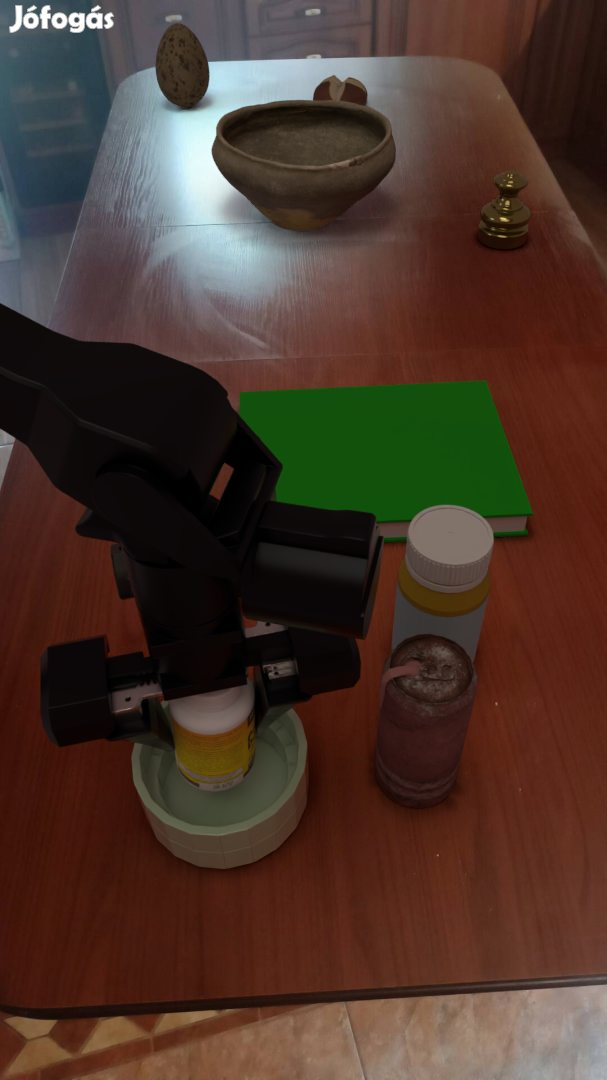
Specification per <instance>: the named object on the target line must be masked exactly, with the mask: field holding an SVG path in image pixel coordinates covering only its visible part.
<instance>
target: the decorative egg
mask: <svg viewBox="0 0 607 1080" xmlns="http://www.w3.org/2000/svg"><path fill="white" fill-rule="evenodd" d="M154 66H155V76H156V82H157V85H158V88H159V90H160V92H161V93H162V95H163V96H164V97H165V99H166V100H167V101H168V102H169V103H171V104H172V105H174V106H176V107H179V108H181V109H188V108H193V107H195V106H197V105H198V104H199V103H201V101H202V100H203V98H204V97H205V95H206V94H207V91H208V88H209V86H210V85H209V84H210V77H211V76H210V75H211V73H210V65H209V61H208V57H207V54H206V52H205V49H204V47H203V45H202V43H201V42H200V40H199V38H198V37H197V36H196V34H195V33H194V32H193V30H192V29H190V27H188V26H186V25H185V24H183V23H179V22H176V23H172V24H171V25H169V26H168V27H167V28H166V29H165V30H164V33H163V34H162V36H161V38H160V40H159V42H158V46H157V50H156V55H155V65H154Z"/></svg>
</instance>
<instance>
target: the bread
mask: <svg viewBox="0 0 607 1080" xmlns="http://www.w3.org/2000/svg"><path fill="white" fill-rule="evenodd" d="M312 100H313V101H316V100H318V101H326V100H337V101H345V102H351V103H355V104H358V105H362V106H365V107H366V104H367V103H368V90H367V88H366V86H365V85H364V84H363V83H362V82H361V80H359V79H356V78H354V77H350V76H349V77H346V78H345V79H344V80H343V81H342V80H340V78H339V77H337V76H336V75H335V74H333V75H331V76H329V77H328V76H327V77H326V78H324V79H323V80H322V81H321V82H320V83H319V84H317V86H316V87H315V88H314V91H313V96H312Z"/></svg>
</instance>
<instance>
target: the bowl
mask: <svg viewBox="0 0 607 1080" xmlns="http://www.w3.org/2000/svg"><path fill="white" fill-rule="evenodd" d="M396 147H397V146H396V143H395V139H394V135H393V126H392V124H391V121H390V119H389V118H388V117H387V116H386V115H385V114H383V113H382V112H380V111H379V110H377V109H375V108H372V107H370V106H366V105H365V106H362V105H358V104H355V103H351V102H345V101H337V100H326V101H318V100H316V101H313V99H312V100H311V99H286V100H283V99H282V100H275V101H270V102H266V103H259V104H252V105H245V106H242V107H240V108H237V109H234V110H232V111H229V112H227V113H225V114H223V116H221V117H220V118H219V120H218V122H217V124H216V127H215V137H214V140H213V143H212V145H211V155H212V156H211V157H212V160H213V162H214V164H215V166H216V168H217V170H218V171H219V173H220V174H221V175H222V177H223V178H224V179H225V180H226V181H227V182H228V183H229V185H230V186H232V187H233V188H234V189H235V190H236V191H237V192H239V193H240V194H241V195H243V197H245V198H246V200H247V201H248V202H250V204H251V205H252V206H253V207H254V208H255V209H256V210H257V211H258V212H259V213H260V214H262V215H263V216H264V217H265V218H267V219H268V220H269V221H270V222H271V223H272V224H273V225H274V226H277V227H279V228H281V229H283V230H290V231H301V232H307V231H308V232H310V231H315V230H319V229H320V230H321V229H322V228H324V227H326V226H327V225H329V224H331V223H332V222H335V220H337V219H338V218H339V217H341V216H342V215H343V214H345V213H346V212H347V211H349V210H350V209H351V208H352V207H353V206H354V205H355V204H356V203H358V202H359V201H361V200H362V199H364V198H365V197H368V195H369V194H371V193H372V192H373V191H375V189H377V187H378V186H379V185H380V184H382V182H383V180H384V179H385V178H386V177H387V176H388V175H389V173H390V172H391V171H392V169H393V168H394V166H395V162H396V156H397V154H396V153H397V148H396Z"/></svg>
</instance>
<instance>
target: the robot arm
mask: <svg viewBox="0 0 607 1080" xmlns="http://www.w3.org/2000/svg"><path fill="white" fill-rule="evenodd" d="M228 397H229V393H228V390H227V389H226V388H225V387H224V386H223V385H222V384H221V383H220V381H218V379H216V378H214V377H213V376H212V375H210V374H209V373H208V372H206V371H205V370H203V369H201V368H199V367H196V366H194V365H192V364H189V363H186V362H184V361H183V360H182V361H181V360H179V359H176V358H174V357H171V356H168V355H166V354H163V353H160V352H158V351H155V350H151V349H149V348H147V347H144V346H141V345H139V344H137V343H132V342H114V341H113V342H112V341H91V340H89V341H88V340H79V339H76V338H73V337H71V336H68V335H65V334H63V333H61V332H57V331H54V330H52V329H51V328H49V327H47V326H45V325H43V324H41V323H39V322H37V321H36V320H34V319H31V318H30V317H28V316H26V315H24V314H22V313H20V312H18V311H17V310H14V309H12V308H11V307H9V306H7V305H5V304H3V303H1V302H0V430H1V431H3V432H5V433H6V434H8V435H9V436H11V437H12V438H14V439H15V440H17V441H19V442H20V443H22V444H23V445H25V446H26V447H27V449H28V450H29V451H30V452H31V454H32V456H33V457H34V459H35V460H36V461H37V463H38V464H39V467H40V468H41V469H42V470H43V472H44V473H45V475H46V476H47V478H48V479H49V481H50V482H51V484H52V485H53V486H54V487H55V488H56V489H57V490H58V491H60V492H61V493H63V494H64V495H66V496H67V497H69V498H70V499H73V501H76V502H78V503H79V504H81V505H82V506H84V507H85V510H84V512H83V513H82V515H81V516H80V518H79V520H78V521H77V523H76V525H75V526H74V531H75V533H76V535H78V536H79V537H83V538H88V539H93V540H100V541H105V542H112V543H113V544H110V558H111V565H112V570H113V574H114V575H113V576H114V582H115V585H116V590H117V594H118V597H119V599H120V600H122V601H124V600H130V599H134V602H135V605H136V609H137V613H138V616H139V620H140V624H141V628H142V631H143V635H144V639H145V643H146V647H147V651H148V655H149V656H145V654H144V651H143V650H140V651H135V652H130V653H124V654H120V655H119V654H118V655H114V656H109V653H110V652H111V650H110V649H111V648H110V643H109V639H108V636H107V634H106V633H104V634H99V635H94V636H89V637H83V638H78V639H72V640H67V641H61V642H56V643H52V644H49V646H47V647H46V649H45V650H44V652H43V653H42V654H41V656H40V657H39V659H40V661H39V662H40V663H39V666H40V667H39V668H40V669H39V671H40V672H39V673H40V674H39V675H40V680H39V681H40V684H39V685H40V687H39V689H40V691H39V693H40V695H39V696H40V697H39V699H40V700H39V701H40V703H39V705H40V707H39V708H40V711H39V713H40V717H41V718H40V719H41V723H42V728H43V730H44V732H45V734H46V736H47V738H48V741H49V742H50V743H52V744H54V745H55V746H57V747H58V748H64V747H68V746H70V747H71V746H73V745H78V744H79V745H80V744H84V743H88V742H93V741H97V740H98V741H99V740H103V739H104V740H105V741H106V742H109V743H114V742H119V741H121V742H122V741H123V742H128V743H134V744H135V743H139V744H144V745H148V746H152V747H155V748H158V749H161V750H165V751H168V752H171V751H174V750H175V748H174V742H173V735H172V731H171V726H170V723H169V721H168V718H167V716H166V714H165V712H164V709H163V707H162V705H161V701H160V698H159V697H163V700H164V701H169V700H174V699H179V698H184V697H189V696H194V695H199V694H204V693H209V692H214V691H219V690H224V689H229V688H234V687H239V686H244V685H247V677H248V676H249V671H248V668H251V667H253V674H252V681H253V686H254V692H255V730H256V733H261V732H263V731H264V730H265V729H266V728H267V727H268V726H270V725H271V724H272V723H273V722H274V721H275V720H276V719H278V718H279V717H280V716H281V715H283V714H284V713H286V712H287V711H289V710H290V709H292V708H293V709H294V708H295V707H296V706H298V705H299V704H303V703H307V702H309V701H311V700H312V699H313V697H314V696H317V695H322V694H327V693H331V692H332V693H333V692H336V691H340V690H346V689H351V688H355V686H356V685H357V683H358V682H359V680H361V674H362V673H361V670H362V660H361V654H360V648H359V645H358V643H357V640H361V641H365V640H366V638H367V637H368V633H369V630H370V626H371V622H372V618H373V613H374V609H375V604H376V598H377V592H378V586H379V582H380V575H381V569H382V568H381V567H382V560H383V553H384V552H383V551H384V543H383V542H384V536H380V527H379V526H376V516H375V515H374V514H373V513H368V512H362V511H355V510H329V509H322V508H316V507H309V506H303V505H296V504H290V503H283V502H277V501H276V485H277V482H278V480H279V477H280V475H281V472H282V469H283V465H282V463H281V462H280V461H279V460H278V459H277V458H276V456H275V455H274V454H273V453H272V452H271V451H270V450H269V448H268V447H267V446H266V445H265V444H264V443H263V442H262V441H261V439H260V437H258V436H257V435H256V434H255V433H254V431H253V430H252V429H251V428H250V427H249V426H248V425H247V423H246V422H245V421H244V420H243V419H242V418H241V417H240V416H239V412H237V411H236V410H235V408H233V406H232V404H231V402H230V399H229V398H228ZM225 464H226V465H227V466H229V467H230V468H232V470H231V471H232V472H231V474H230V476H229V478H228V480H227V482H226V483H225V484H226V485H225V487H224V488H223V491H222V493H221V496H220V498H217V497H216V496H214V495H213V494H211V492H212V490H213V487H214V486H215V483H216V481H217V479H218V477H219V475H220V473H221V471H222V469H223V466H224V465H225ZM245 619H246V620H249V621H255V622H257V623H256V624H255V626H252V627H246V625H245ZM356 639H357V640H356Z"/></svg>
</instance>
